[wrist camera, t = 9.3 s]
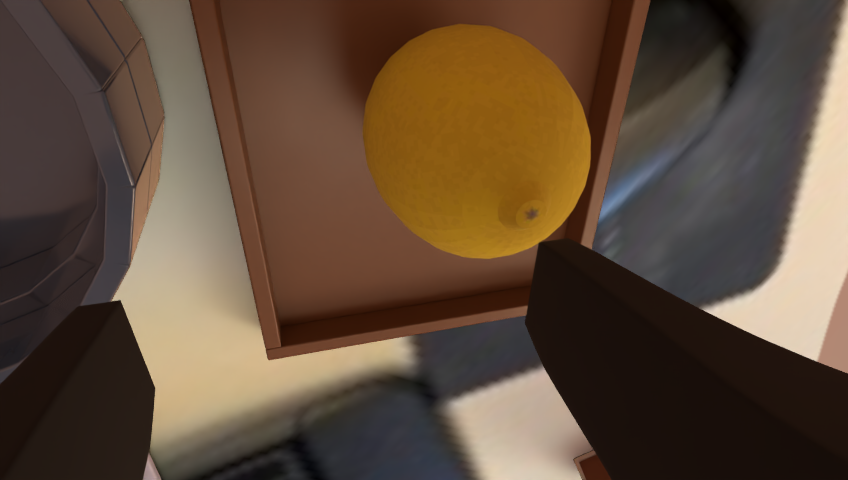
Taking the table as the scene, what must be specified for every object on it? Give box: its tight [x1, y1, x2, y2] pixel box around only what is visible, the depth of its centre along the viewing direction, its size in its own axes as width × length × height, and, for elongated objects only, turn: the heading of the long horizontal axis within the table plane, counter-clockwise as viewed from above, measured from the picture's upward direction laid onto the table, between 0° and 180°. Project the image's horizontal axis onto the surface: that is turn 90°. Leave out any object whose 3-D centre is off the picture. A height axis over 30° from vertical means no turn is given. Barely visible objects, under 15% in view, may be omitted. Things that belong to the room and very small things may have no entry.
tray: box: [189, 0, 650, 360], centre depth 17 cm, size 19×13×2 cm
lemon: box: [363, 24, 591, 259], centre depth 14 cm, size 6×6×8 cm
